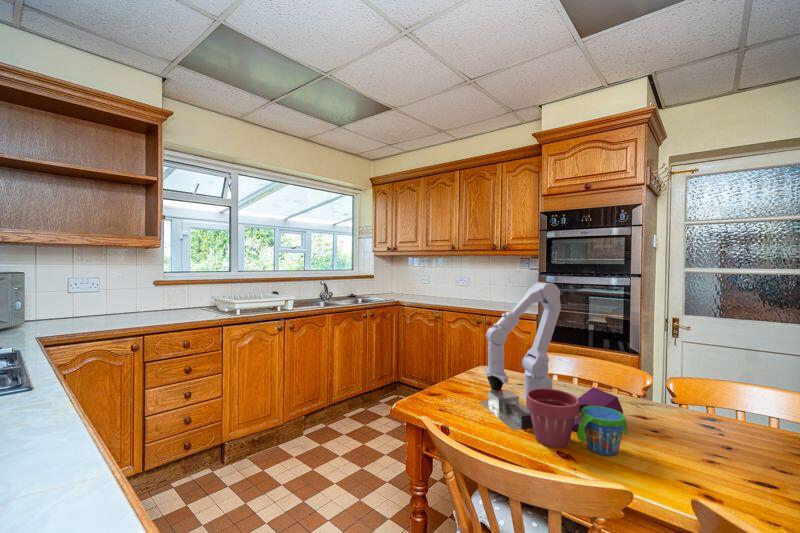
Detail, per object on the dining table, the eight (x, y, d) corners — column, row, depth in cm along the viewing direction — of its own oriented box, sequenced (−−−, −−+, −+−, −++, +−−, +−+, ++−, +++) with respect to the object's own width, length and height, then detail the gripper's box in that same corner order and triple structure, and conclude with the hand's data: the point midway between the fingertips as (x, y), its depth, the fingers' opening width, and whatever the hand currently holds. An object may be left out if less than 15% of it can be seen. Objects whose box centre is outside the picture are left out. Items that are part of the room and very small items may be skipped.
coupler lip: (512, 398, 139) (512, 387, 139) (553, 426, 115) (552, 412, 115) (478, 402, 136) (478, 390, 136) (512, 431, 112) (512, 417, 112)
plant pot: (589, 452, 99) (589, 405, 99) (537, 453, 99) (537, 406, 99) (564, 428, 113) (564, 387, 113) (519, 429, 113) (519, 388, 113)
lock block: (507, 400, 136) (507, 387, 136) (519, 408, 129) (519, 394, 129) (488, 402, 135) (488, 389, 135) (498, 410, 127) (498, 396, 127)
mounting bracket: (584, 452, 111) (626, 419, 116) (574, 428, 110) (617, 396, 114) (562, 438, 120) (602, 408, 125) (553, 416, 119) (593, 386, 123)
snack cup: (611, 437, 108) (611, 402, 108) (642, 455, 97) (642, 417, 97) (565, 443, 104) (564, 408, 104) (592, 463, 94) (592, 423, 94)
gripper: (477, 355, 143) (477, 390, 143) (495, 365, 129) (495, 404, 129) (494, 354, 145) (494, 389, 145) (513, 364, 130) (513, 402, 131)
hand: (496, 396), depth 137 cm, fingers closed
